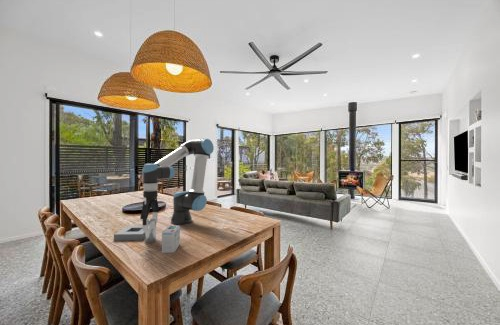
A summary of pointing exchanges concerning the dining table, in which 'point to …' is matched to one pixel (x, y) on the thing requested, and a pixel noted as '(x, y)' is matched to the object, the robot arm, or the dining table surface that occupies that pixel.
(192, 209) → the robot arm
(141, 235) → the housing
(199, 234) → the dining table surface
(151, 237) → the end cap
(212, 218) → the dining table surface
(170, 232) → the light bulb box
